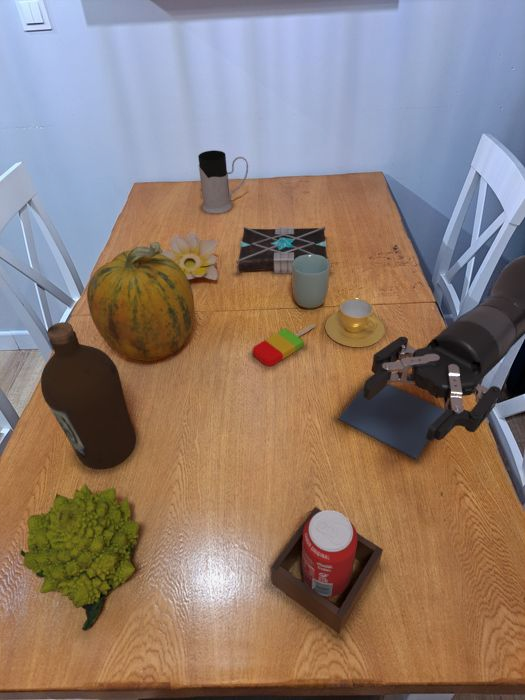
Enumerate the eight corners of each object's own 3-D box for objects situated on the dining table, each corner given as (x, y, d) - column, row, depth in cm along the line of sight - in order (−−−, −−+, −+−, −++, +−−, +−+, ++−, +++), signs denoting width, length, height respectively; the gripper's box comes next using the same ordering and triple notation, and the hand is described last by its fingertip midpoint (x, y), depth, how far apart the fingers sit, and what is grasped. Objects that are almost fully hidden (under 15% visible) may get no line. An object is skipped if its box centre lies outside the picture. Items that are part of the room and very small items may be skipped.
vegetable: (97, 654, 54) (32, 545, 51) (39, 621, 65) (-18, 528, 62) (188, 559, 65) (140, 463, 61) (126, 544, 75) (81, 461, 72)
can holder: (378, 567, 64) (383, 549, 61) (339, 634, 58) (342, 619, 55) (313, 525, 69) (315, 506, 66) (271, 583, 63) (270, 566, 60)
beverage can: (358, 568, 64) (368, 522, 56) (335, 611, 60) (342, 568, 52) (316, 543, 67) (320, 495, 59) (292, 582, 63) (292, 537, 55)
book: (237, 274, 117) (235, 256, 114) (243, 239, 129) (241, 221, 126) (328, 274, 116) (329, 255, 112) (325, 238, 128) (326, 220, 125)
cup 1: (291, 292, 111) (292, 254, 104) (326, 292, 110) (328, 253, 103) (292, 313, 105) (292, 274, 98) (328, 313, 104) (331, 274, 98)
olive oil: (123, 411, 86) (82, 295, 69) (151, 449, 80) (114, 332, 63) (64, 441, 81) (6, 325, 65) (89, 485, 75) (31, 369, 58)
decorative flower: (150, 287, 111) (147, 244, 106) (159, 271, 121) (156, 231, 116) (217, 289, 111) (216, 246, 107) (219, 272, 121) (219, 232, 117)
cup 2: (313, 330, 100) (314, 309, 97) (348, 304, 107) (351, 283, 103) (360, 357, 94) (363, 335, 90) (396, 327, 100) (400, 306, 96)
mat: (445, 412, 83) (446, 410, 83) (416, 460, 76) (416, 458, 76) (371, 378, 90) (372, 376, 89) (338, 419, 83) (338, 418, 83)
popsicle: (250, 354, 96) (249, 347, 94) (305, 322, 103) (305, 314, 101) (268, 369, 92) (268, 362, 91) (324, 334, 100) (324, 327, 98)
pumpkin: (205, 368, 93) (187, 254, 77) (103, 386, 91) (61, 272, 74) (194, 310, 107) (177, 202, 90) (105, 324, 104) (70, 216, 88)
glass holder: (201, 201, 147) (194, 151, 137) (247, 196, 149) (244, 146, 138) (203, 215, 141) (197, 163, 130) (252, 209, 142) (249, 157, 132)
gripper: (516, 394, 61) (445, 471, 54) (419, 341, 69) (345, 402, 62) (536, 350, 56) (461, 428, 49) (429, 299, 64) (349, 359, 57)
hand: (396, 413), depth 55 cm, fingers open, 8 cm apart
